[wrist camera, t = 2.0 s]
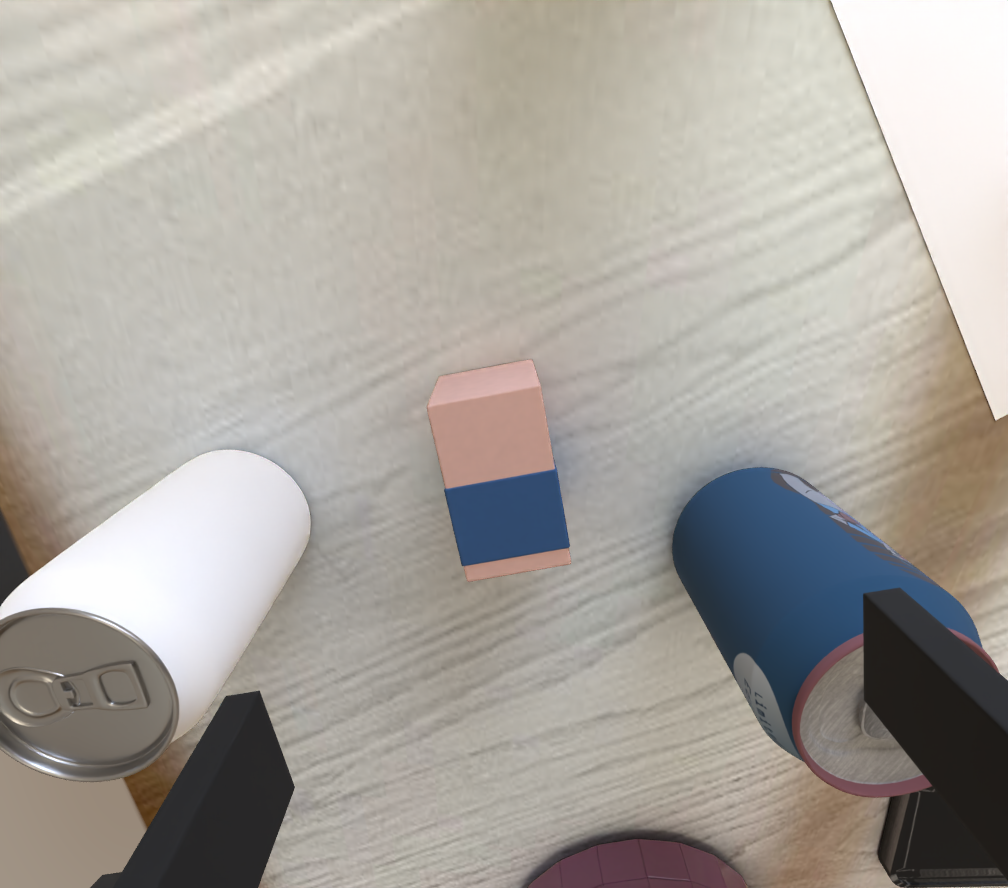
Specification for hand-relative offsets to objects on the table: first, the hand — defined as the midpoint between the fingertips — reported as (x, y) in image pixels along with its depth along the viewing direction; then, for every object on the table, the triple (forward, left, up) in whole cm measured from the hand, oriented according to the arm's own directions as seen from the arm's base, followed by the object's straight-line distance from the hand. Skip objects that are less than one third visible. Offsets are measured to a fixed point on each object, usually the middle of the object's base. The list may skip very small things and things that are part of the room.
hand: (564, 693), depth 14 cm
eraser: (-1, +1, -15) cm, 15 cm away
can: (-13, 0, -15) cm, 20 cm away
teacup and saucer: (+26, +11, -15) cm, 32 cm away
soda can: (+9, -5, -15) cm, 18 cm away
